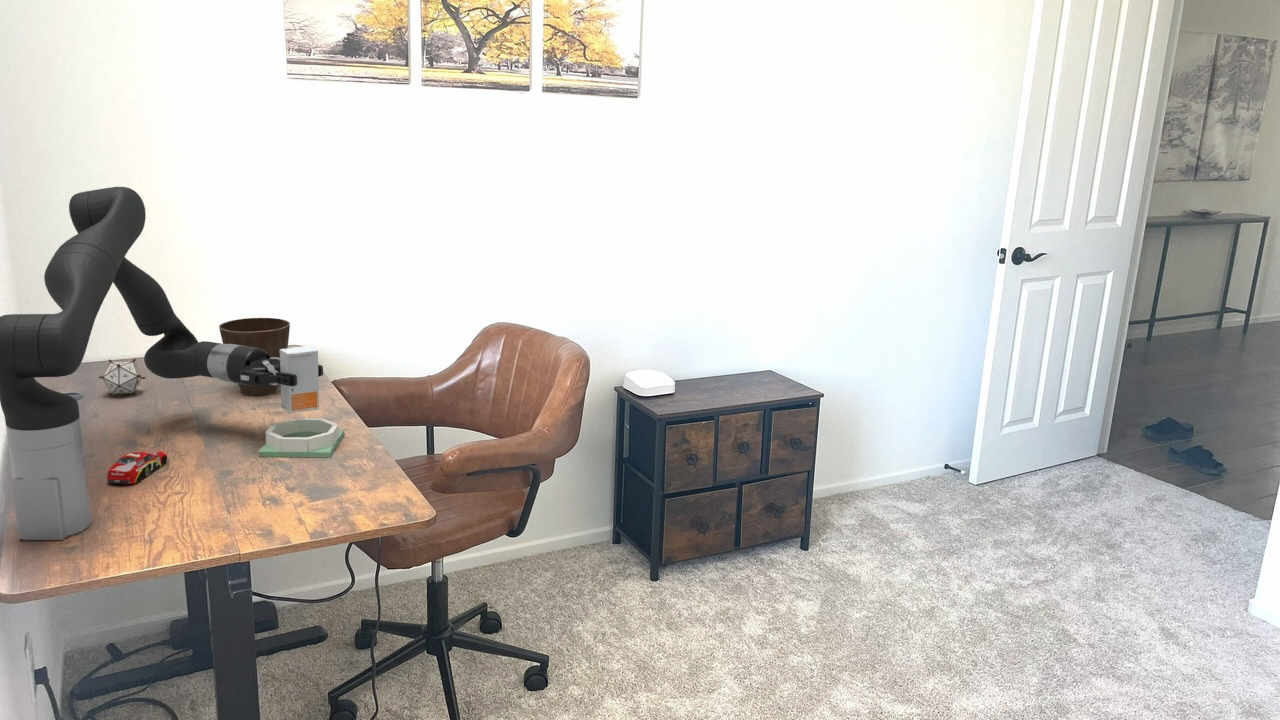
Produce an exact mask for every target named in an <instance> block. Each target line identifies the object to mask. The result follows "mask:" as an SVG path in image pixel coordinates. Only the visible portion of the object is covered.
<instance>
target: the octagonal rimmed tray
mask: <svg viewBox="0 0 1280 720" xmlns="http://www.w3.org/2000/svg"><path fill="white" fill-rule="evenodd" d="M344 437H345V429H344V430H343V429H339V424H338V423H335V422H333V421H330V420H328V419H326V418H313V417H311V418H309V417H307V418H302V417H298V418H293V419H287V420H284V421H279V422H275V423H273V424H271V425H270V426H269V428H267V430H266V431H265V440H266V441H265V443H264V445H263V446H262V447H261V448H260V449H259V450H258V457H259V458H262V457H263V458H264V457H265V458H266V457H267V458H273V457H274V458H331V456H332V455H333V453H334V451H335V450H336V449H337V447H338V446H339V444H340V443H341V441H342V439H343V438H344Z"/></svg>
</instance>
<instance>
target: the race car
mask: <svg viewBox="0 0 1280 720" xmlns="http://www.w3.org/2000/svg"><path fill="white" fill-rule="evenodd" d="M167 461H168V456H167V454H166V453H165V452H164V451H162V450H155V449H154V450H153V449H152V450H150V449H149V450H144V451H139V452H138V451H132V452H128V453H126V454H124V455H122V456H121V457H120V458H119V459H118V460H117V461H116V462H114V464H112V466H111V467H110V468H109V469H108V470H107V474H106V479H107V480H106V481H107V484H111V485H112V484H115V485H116V484H117V485H133V484H136V483H141V482H142V481H143V479H146V478H147V477H148V476H150V475H151V474H153V473H154V472H155V471H156V470H158V469H160V468H161V467H163V466H165V465H167ZM141 480H142V481H141Z"/></svg>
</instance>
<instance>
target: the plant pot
mask: <svg viewBox="0 0 1280 720" xmlns="http://www.w3.org/2000/svg"><path fill="white" fill-rule="evenodd" d="M218 328H219V334H220V337H221V341H222V344H236V345H242V346H249V347H255V348H261V349H263V350H265V351H266V352H267V354H268V355H269V357H270V358H272V357H279V358H280V349H287V348H289V347H288V346H289V342H290V341H289V339H290V330H291V329H290V328H291V323H290V321H289V320H286V319H282V318H275V317H249V318H248V317H245V318H237V319H233V320H229V321H225V322H222V323H220V324H219V326H218ZM237 385H238V387H239V389H240V391H241V392H242V394H243V393H244V394H243V395H245V394H247V395H246V396H250V395H262V396H268V395H271V393H272V394H274V393H276V392H277V390H278V387H279V385H280V384H278V385H272V384H269V386H268V387H261V386H250V385H244V384H238V383H237ZM267 394H268V395H267Z"/></svg>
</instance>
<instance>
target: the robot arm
mask: <svg viewBox="0 0 1280 720" xmlns="http://www.w3.org/2000/svg"><path fill="white" fill-rule="evenodd" d="M68 210H69V211H68V212H69V217H70V220H71V222H72V225H73V227H74V229H75V231H76V232H77V234H76V235H74V236H72V237H70V238H68V239H67V240H66V241H64V243H62V244H61V245H60V246H59V247H58V248H57V250H56V251H55V252H54V254H53V255H52V257H51V259H50V261H49V262H48V264H47V267H46V268H45V272H44V275H43V276H44V278H43V279H44V285H45V288H46V291H47V292H48V294H49V296H50V298H52V299H53V302H54V303H56V305H57V306H58V307H59V308H60V310H61V311H60V312H58V313H13V314H9V313H8V314H3V315H1V316H0V407H1V410H2V413H3V415H4V421H5V423H4V424H5V427H6V434H7V441H8V444H7V445H8V450H9V451H8V453H9V458H10V467H11V474H12V480H11V482H10V485H11V493H12V500H13V507H14V508H13V509H14V515H15V523H16V529H17V531H16V532H17V536H18V537H17V539H18V540H19V539H22V540H21V541H62V540H64V539H66V538H67V537H69V536H68V535H70V536H73V535H76V534H78V533H80V532H83V531H85V530H86V529H88V527H90V525H91V523H92V519H91V518H92V516H91V507H90V498H89V489H88V481H87V480H88V479H87V472H86V464H85V463H86V462H85V454H84V453H85V452H84V446H83V445H84V444H83V436H82V435H83V433H82V427H81V426H82V425H81V418H80V415H81V414H80V408H79V403H78V400H77V399H76V398H74V397H73V396H71V395H69V394H66V393H62V392H60V391H57V390H54V389H51V388H48V387H46V386H44V385H43V384H42V383H40V382H39V381H37V379H36V378H59V377H60V378H61V377H66V376H71V375H72V374H73V373H76V371H77V370H78V369H79V368H80V366H81V364H82V362H83V360H84V357H85V354H86V351H87V347H88V344H89V341H90V337H91V335H92V331H93V328H94V324H95V321H96V318H97V316H98V313H99V311H100V308H101V306H102V305H103V302H104V300H105V298H106V296H107V295H108V293H109V292H110V289H111V288H112V285H114V286H115V288H116V290H117V291H118V292H119V294H120V295H121V297H122V299H123V301H124V303H125V304H126V307H127V308H128V310H129V312H130V314H131V317H132V318H133V321H134V322H135V325H136V326H137V328H138V330H139V331H140V332H141V334H143V335H144V336H148V337H156V336H160V335H163V337H161V338H160V339H159V340H158V341H157V342H155V343H154V344H153V345H152V346H150V347H149V348H148V349H147V350H146V352H145V354H144V357H143V361H144V364H145V367H146V368H147V369H148V370H149V371H150V372H151V373H152V374H154V375H155V376H158V377H161V378H163V379H171V380H172V379H173V380H174V379H186V378H193V377H200V376H201V377H206V378H213V379H217V380H219V381H223V382H228V383H233V384H237V385H238V384H244V385H250V386H261V387H268V386H269V384H272V385H278V384H279V385H280V386H281V385H287V386H296V385H297V376H296V375H295V374H289V373H283V372H280V358H279V357H272V358H270V357H269V355H268V354H267V352H266V351H265V350H263V349H261V348H255V347H249V346H242V345H236V344H223V343H220V342H213V341H207V340H206V341H205V340H204V341H198V339H197V337H196V336H195V334H194V333H193V332H192V331H191V330H190V329H189V328H188V327H187V326H186V325H185V324H184V323H183V321H182V320H181V319H180V318H179V317H178V316H177V315H176V313H175V312H174V310H173V307H172V304H171V303H170V300H169V298H168V296H167V294H166V291H164V288H163V287H162V286H161V285H160V283H159V282H158V281H157V280H156V279H155V278H153V277H152V276H151V275H150V274H149V273H147V272H146V271H144V270H142V269H141V268H140V267H139V266H136V264H134V263H133V262H132V261H130V260H129V259H128V258H126V255H127V253H128V252H129V250H130V249H131V248H132V246H133V245H134V243H135V242H136V241H137V240H138V238H139V237H140V236H141V234H142V232H143V231H144V228H145V224H146V219H147V217H146V206H145V203H144V201H143V199H142V197H141V196H140V194H139V193H138V192H137V191H135V190H134V189H132V188H130V187H126V186H110V187H105V188H99V189H93V190H87V191H86V190H85V191H80V192H77V193H75V194H73V195H72V196H71V198H70V200H69V203H68ZM323 375H324V367H323V365H322V364H318V378H319V377H322V376H323ZM279 385H278V386H279Z"/></svg>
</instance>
